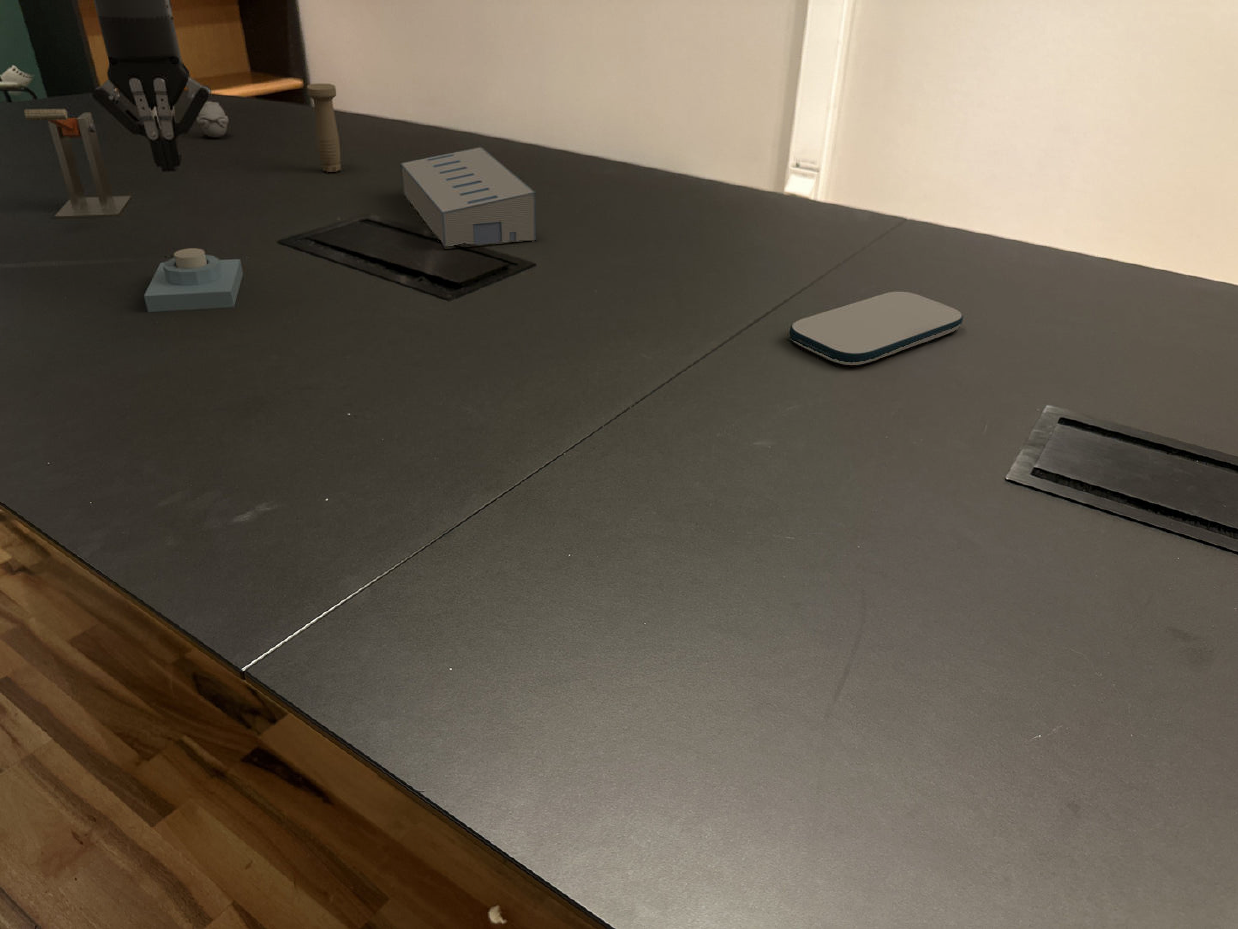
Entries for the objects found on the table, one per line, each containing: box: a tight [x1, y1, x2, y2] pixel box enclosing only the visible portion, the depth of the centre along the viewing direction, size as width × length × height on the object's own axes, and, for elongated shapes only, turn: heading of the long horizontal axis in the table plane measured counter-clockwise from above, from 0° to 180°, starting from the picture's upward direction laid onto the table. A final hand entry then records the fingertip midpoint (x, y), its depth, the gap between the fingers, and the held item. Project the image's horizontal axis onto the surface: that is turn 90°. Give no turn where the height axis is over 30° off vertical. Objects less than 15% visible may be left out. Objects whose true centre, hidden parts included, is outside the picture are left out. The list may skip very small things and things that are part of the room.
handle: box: [306, 83, 342, 173], centre depth 166 cm, size 5×6×15 cm
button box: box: [143, 254, 244, 313], centre depth 116 cm, size 12×10×4 cm
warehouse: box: [400, 146, 537, 246], centre depth 146 cm, size 30×14×8 cm, turn 23°
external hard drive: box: [788, 290, 964, 363], centre depth 113 cm, size 24×12×2 cm, turn 127°
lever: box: [23, 108, 82, 139], centre depth 132 cm, size 13×5×2 cm, turn 15°
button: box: [173, 247, 207, 269], centre depth 115 cm, size 4×4×2 cm
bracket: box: [47, 112, 132, 220], centre depth 140 cm, size 10×9×15 cm
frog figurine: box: [196, 100, 229, 139], centre depth 188 cm, size 6×7×7 cm
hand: (170, 169), depth 109 cm, fingers closed
